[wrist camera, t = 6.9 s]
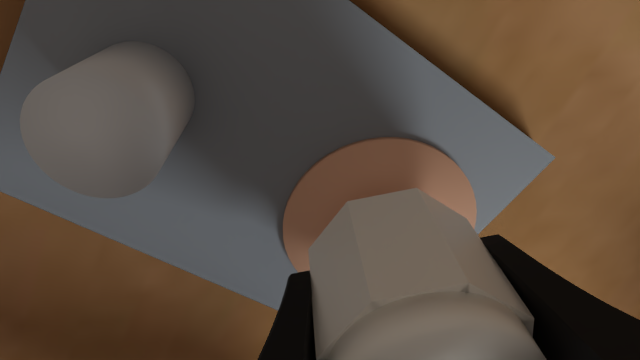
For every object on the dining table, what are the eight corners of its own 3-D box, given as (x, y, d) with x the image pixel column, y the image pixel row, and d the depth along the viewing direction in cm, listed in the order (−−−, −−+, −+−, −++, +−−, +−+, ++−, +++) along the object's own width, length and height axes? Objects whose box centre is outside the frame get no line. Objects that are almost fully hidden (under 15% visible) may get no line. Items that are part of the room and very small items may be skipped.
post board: (532, 140, 16) (628, 213, 11) (358, 320, 20) (379, 426, 15) (117, -177, 10) (-8, -272, 6) (-6, 156, 14) (-133, 244, 10)
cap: (466, 177, 12) (567, 305, 8) (467, 300, 14) (546, 450, 10) (298, 210, 12) (304, 354, 8) (327, 326, 15) (345, 485, 10)
